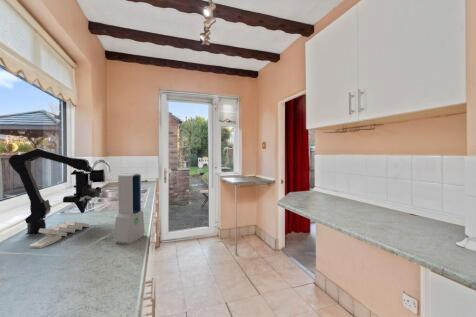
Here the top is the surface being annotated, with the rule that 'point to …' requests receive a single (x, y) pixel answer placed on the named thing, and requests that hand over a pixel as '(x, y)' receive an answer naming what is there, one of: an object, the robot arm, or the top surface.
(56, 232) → the domino
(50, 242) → the domino
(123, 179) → the electronic device
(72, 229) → the domino
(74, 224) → the domino
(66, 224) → the domino
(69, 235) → the rubber mat
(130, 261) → the top surface
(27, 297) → the top surface
